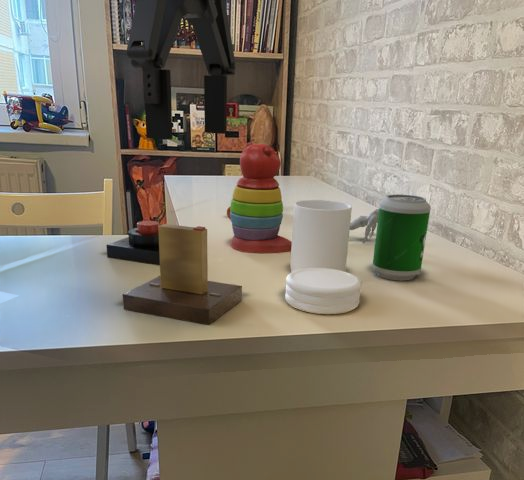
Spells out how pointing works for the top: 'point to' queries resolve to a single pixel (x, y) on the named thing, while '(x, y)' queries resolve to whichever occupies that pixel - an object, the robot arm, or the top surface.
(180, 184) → the top surface
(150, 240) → the release box
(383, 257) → the soda can
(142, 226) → the release button
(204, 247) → the lock turn
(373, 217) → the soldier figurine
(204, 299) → the plate
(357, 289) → the coaster
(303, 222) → the mug
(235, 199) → the stacking bear
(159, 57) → the robot arm
